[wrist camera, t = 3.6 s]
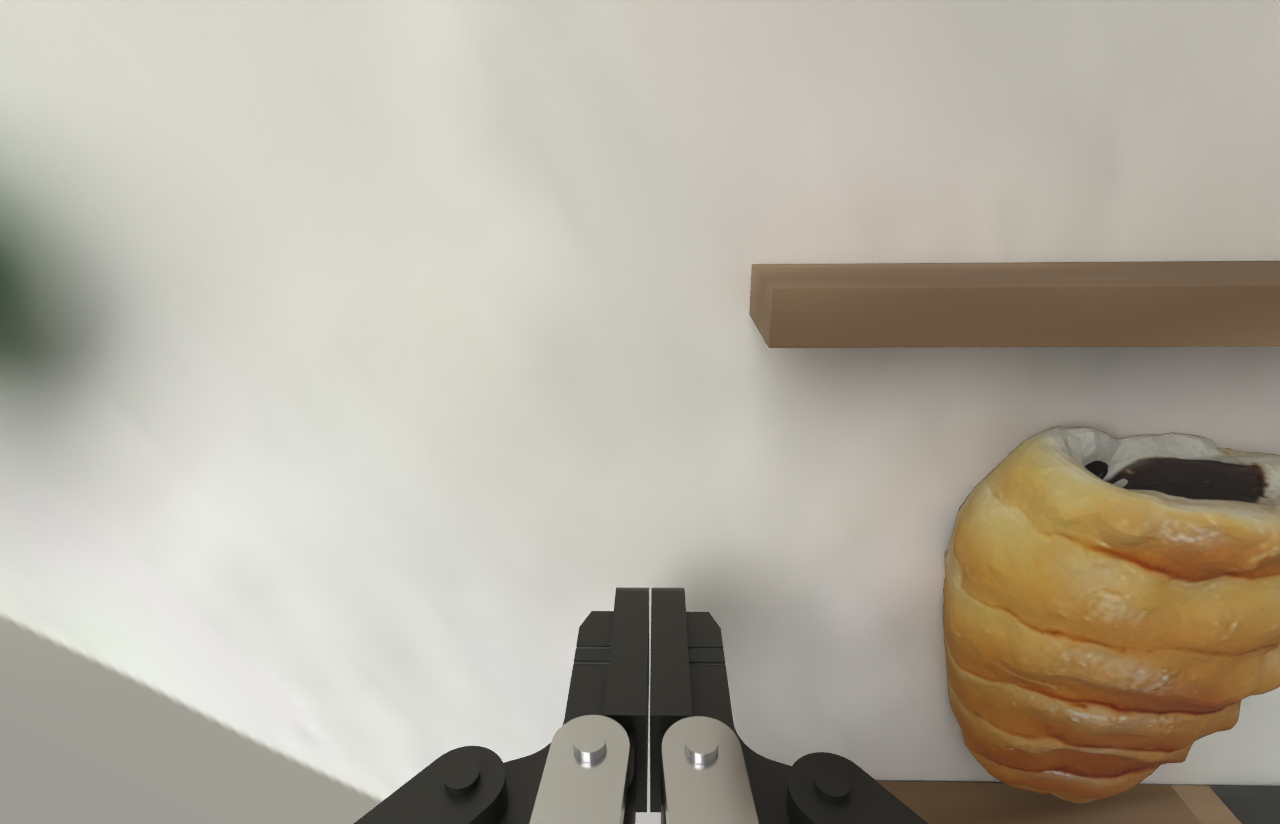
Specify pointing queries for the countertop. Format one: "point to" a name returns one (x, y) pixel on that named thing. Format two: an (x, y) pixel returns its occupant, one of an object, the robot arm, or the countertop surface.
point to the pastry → (1110, 606)
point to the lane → (1026, 317)
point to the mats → (1251, 803)
